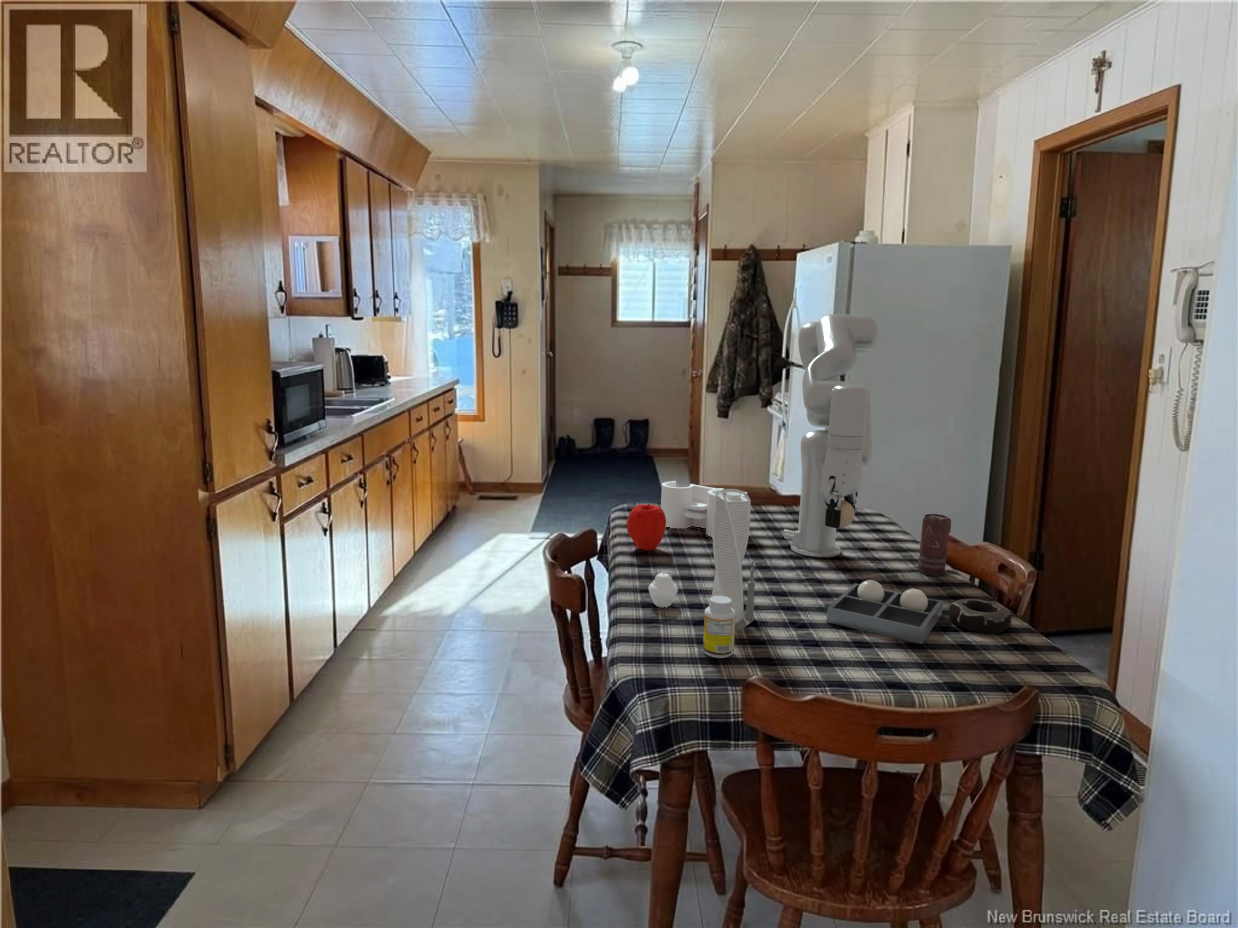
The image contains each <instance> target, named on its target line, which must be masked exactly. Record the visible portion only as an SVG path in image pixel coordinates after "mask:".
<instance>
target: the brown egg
mask: <svg viewBox="0 0 1238 928" xmlns="http://www.w3.org/2000/svg"><path fill="white" fill-rule="evenodd" d="M835 502H836V501H835ZM839 510H841V517H840V527H839V528H841V529H842V528H846V527H848V526H849V525H851V524H853V523H852V521H853V519H854V520H855V516H856V515H855V513H856V512H855V513H854V509H853V507H852V505H851V504H850V503H848V502H846V501H844V500H841V504H840V508H839ZM839 528H838V529H839Z"/></svg>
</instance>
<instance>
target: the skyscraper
mask: <svg viewBox="0 0 1238 928" xmlns="http://www.w3.org/2000/svg"><path fill="white" fill-rule="evenodd" d="M745 492H746V491H743V490H741V489H737V488H724V490H723V491H719V492H717V493H716V497H715V506H714V518H713V538H712V552H713V560H714V566H715V567H714V568H715V572H714V577H713V584H712V585H713V586H712V592H711V597H713V596H725V597H728V598H730V599H731V600H732V609H734V611H735V613H736V617H735V630H738V631H742V630H743V629H745V628H746V627H747V626H749V625H750V624H751V623H752V622H753V621H755V620H756V618H755V616H754V614H755V613H754V609H755V604H756V602H755V587H756V581H754V580H755V579H754V578H755V577H754V574H755V568H754V563H755V561H754V560H751V568H750V572H749V573H750V574H749V580H748V581H747V595H746V602H745V610H744V587H743V586H744V583H743V571H742V570H743V569H742V565H743V562H744V559H745V555H746V553H747V552H746V551H747V547H748V543H749V542H748V541H749V536H750V528H751V527H750V526H751V508H752V507H751V505H752V504H751V503H752V502H751V501H752V500H751V498H750V496H749V495H748V493H747V494H746V493H745ZM721 493H722V494H723V495H718V494H721ZM741 493H742V494H743V495H745V497H746V498H747V499H746V498H744V497H743V496H741ZM744 611H745V615H744Z"/></svg>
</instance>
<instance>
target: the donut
mask: <svg viewBox="0 0 1238 928" xmlns="http://www.w3.org/2000/svg"><path fill="white" fill-rule="evenodd" d="M947 614H948V617H949V619H950V620H951V622H952V623H954V624H955V625H956V626H958V627H960V628H962V629H965V630H968V631H971V632H974V633H975V632H976V633H981V634H997V633H1001V632H1004V631H1005V630H1007V629H1008V628H1009V627H1010V626H1011V624H1012V616H1011V614H1010V612H1009V611H1008V610H1007V609H1006V608H1004V607H1003V606H1002V605H999V604H998V603H995V602H991V601H990V600H984V599H977V598H961V599H957V600H955V601H953V602H952V603H951V604H950V605H949V607H948V610H947Z"/></svg>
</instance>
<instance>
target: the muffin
mask: <svg viewBox="0 0 1238 928" xmlns="http://www.w3.org/2000/svg"><path fill="white" fill-rule="evenodd" d="M678 590H679V589H678V585H677V584H676V583H675V582H674V580H673V577H672V576H671V575H670V574H668V573H664V572H661V573H658V574H656V575H655V577H654V580H653V581H652V582H651V583H650V584H649V585H648V592H649V596H650V597H651V600H652V602H653V604H654V606H655V605H656V607H657V606H658V608H664V607H665V608H669V607H671V605H672V603H673V601H674V600H675V598H676V596H677V594H678ZM668 606H669V607H668Z"/></svg>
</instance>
